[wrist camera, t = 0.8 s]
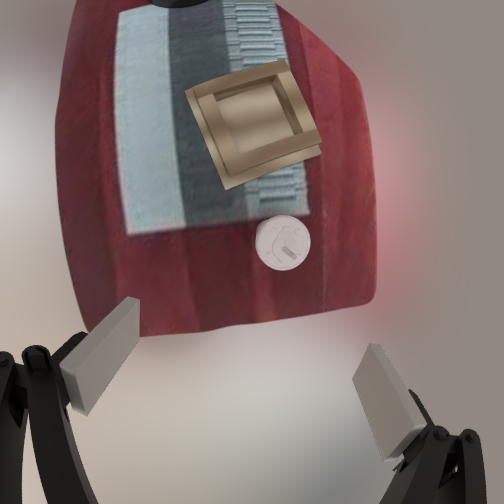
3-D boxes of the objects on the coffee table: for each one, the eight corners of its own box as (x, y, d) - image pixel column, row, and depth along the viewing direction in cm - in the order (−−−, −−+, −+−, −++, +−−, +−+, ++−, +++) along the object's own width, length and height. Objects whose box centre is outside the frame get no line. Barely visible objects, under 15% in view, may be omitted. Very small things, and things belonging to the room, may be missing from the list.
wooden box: (185, 94, 35) (181, 80, 29) (278, 65, 35) (286, 49, 30) (225, 190, 38) (226, 189, 33) (318, 155, 39) (332, 150, 34)
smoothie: (245, 252, 41) (260, 282, 27) (248, 208, 39) (265, 216, 26) (287, 254, 42) (321, 282, 28) (291, 211, 40) (328, 221, 27)
